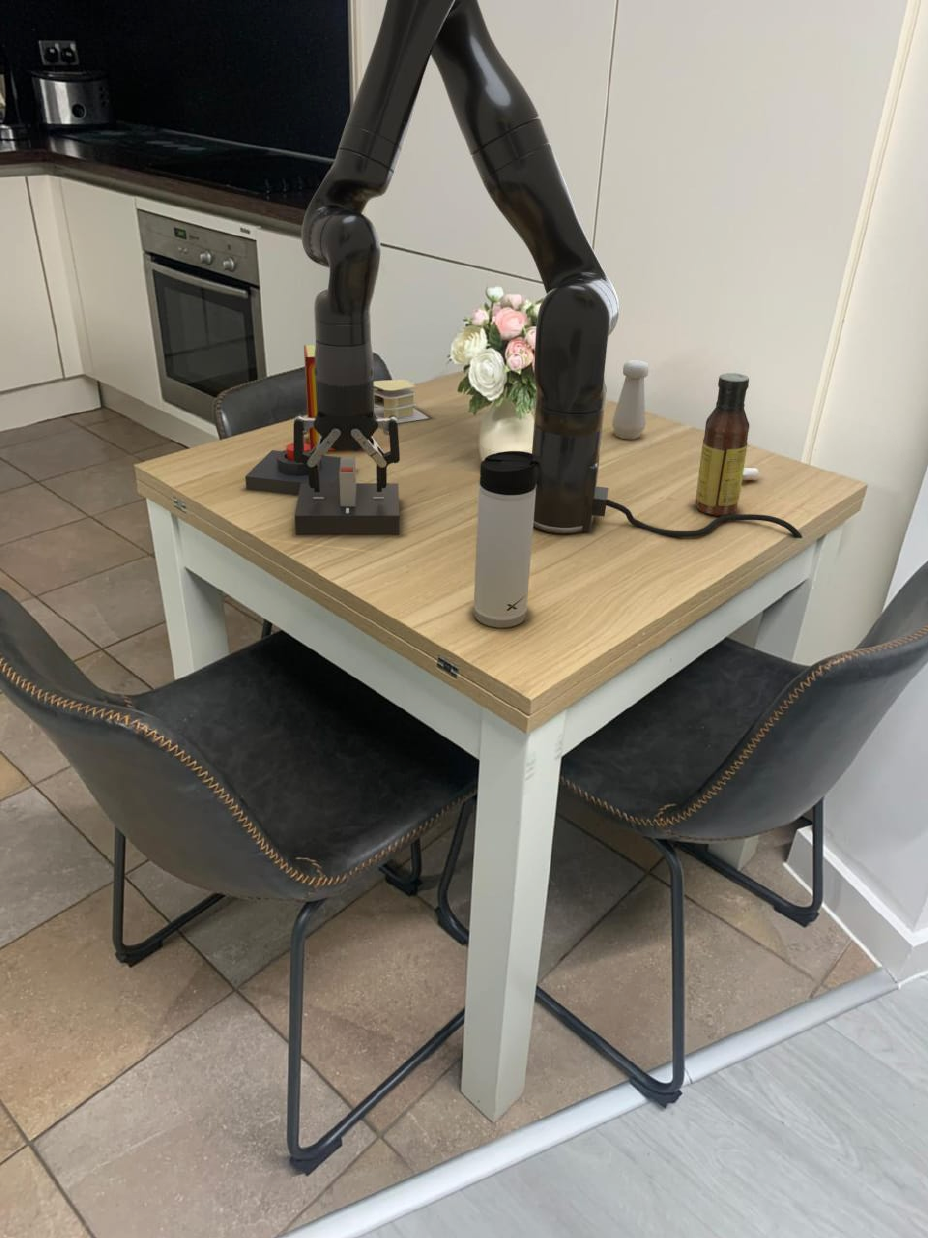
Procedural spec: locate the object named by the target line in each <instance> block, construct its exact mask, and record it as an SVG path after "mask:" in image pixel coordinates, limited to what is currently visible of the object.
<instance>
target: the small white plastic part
mask: <svg viewBox="0 0 928 1238" xmlns="http://www.w3.org/2000/svg"><path fill="white" fill-rule="evenodd" d="M759 477H760V472H759V470H758V469H757V468H754V467H745V466H744V471H743V477H742V481H743V480H744V481H756V480H757V479H759Z"/></svg>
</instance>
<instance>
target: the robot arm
mask: <svg viewBox="0 0 928 1238" xmlns="http://www.w3.org/2000/svg"><path fill="white" fill-rule="evenodd" d="M430 58H432V60H433V62H434V64H435V66H436V68H437V71H438V72H439V75H440V78H441V81H442V83H443V86H444V88H445V90H446V94H447V97H448V100H449V103H450V105H451V108H452V111H453V114H454V116H455V119H456V122H457V125H458V126H459V130H460V132H461V134H462V137H463V140H464V143H465V144H466V148H467V150H468V153H469V154H470V156H471V159H472V161H473V163H474V166H475V168H476V170H477V173H478V175H479V177H480V180H481V181H482V184H483V186H484V188H485V190H486V192H487V193H488V195H489V197H490V199H491V201H492V202H493V204H494V205H495V207H496V208H497V209H498V211H499V212H500V213H501V215H502V216H503V218H504V219H505V220H506V221H507V223H508V224H509V225H510V227H511V228H512V229H513V230H514V231H515V232H516V234H517V236H519V238H520V239H521V241H522V242H523V243H524V245H525V246H526V248H527V249H528V251H529V253H530V255H531V257H532V259H533V261H534V264H535V266H536V269H537V271H538V273H539V276H540V279H541V282H542V284H543V287H544V290H545V294H546V295H545V296H544V297H543V299H542V301H541V302H540V305H539V308H538V312H537V318H536V325H535V341H534V344H535V345H534V360H533V361H534V362H533V363H534V365H533V380H534V385H535V389H536V395H535V405H534V406H535V407H534V417H533V418H534V420H533V432H532V433H533V434H532V446H531V453H532V454H534V455H537V456H541V466H540V467H539V468H537V465H536V471H537V476H536V496H535V508H534V521H533V528H536V529H538V530H540V531H544V532H547V533H552V534H564V535H565V534H575V533H576V534H577V533H581V532H584V533H590V532H591V528H592V525H593V522H594V521H593V520H594V517H595V516H596V517H606V511H607V507H609V508H611V509H614V510H617V511H619V512H621V513H623V514H624V515H625V516H626V519H627V521H628V522H629V523H630V524H631V525H633V526H635V527H636V528H639V529H642V530H645V531H648V532H651V533H654V534H658V535H661V536H665V537H677V538H691V537H699V536H703V535H705V534H708V533H710V532H711V531H713V530H714V529H715V528H716V527H717V526H718V525H720V524H722V523H724V522H729V521H760V522H761V521H762V522H769V523H773V524H776V525H778V526H781V527H783V528H784V529H786V530H787V531H788V532H789V533H791V534H792V535H793V536H794V537H795V538H797V539H803V536H802V534H801V532H800V531H799V530H798V529H797V528H796V527H795V526H793V525H792V524H791V523H789V522H788V521H786V520H784V519H782V518H779V517H776V516H773V515H768V514H767V515H765V514H758V513H757V514H756V513H753V514H752V513H751V514H750V513H749V514H748V513H742V514H741V513H736V514H735V513H732V514H730V515H725V516H718V517H717V518H715V519H714V520H712V521H710V523H709V524H707V525H705V526H704V527H701V528H699V529H696V530H695V529H694V530H693V529H692V530H671V529H663V528H659V527H654V526H651V525H648V524H646V523H643V522H642V521H641V520H638V519H637V518H635V517H634V515H633V513H632V512H631V510H630V509H629V508H627V507H626V506H625V505H623V504H621V503H618V502H617V501H616V502H615V501H614V500H611V499H608V498H609V497H608V496H609V487H604V486H597V485H598V484H597V483H598V475H599V467H600V458H601V453H600V452H601V443H602V436H603V435H602V434H603V425H604V416H605V408H606V401H607V400H606V399H607V392H608V391H607V390H608V387H607V384H606V383H605V381H606V380H605V373H606V362H607V352H608V343H609V337H610V335H611V334H612V333H613V331H614V329H615V328H616V326H617V324H618V319H619V315H620V302H619V297H618V295H617V292H616V290H615V288H614V285H613V284H612V281H611V280H610V278H609V277H608V275H607V272H606V271H605V269H604V268H603V266H602V263H601V262H600V260H599V258H598V257H597V255H596V253H595V250H594V249H593V247H592V245H591V243H590V241H589V239H588V237H587V235H586V233H585V231H584V229H583V226H582V224H581V222H580V219H579V217H578V214H577V211H576V208H575V205H574V202H573V199H572V197H571V193H570V190H569V188H568V185H567V183H566V180H565V178H564V174H563V173H562V170H561V167H560V164H559V161H558V159H557V156H556V154H555V151H554V148H553V145H552V144H551V141H550V139H549V135H548V134H547V131H546V129H545V126H544V123H543V121H542V119H541V117H540V114H539V112H538V110H537V108H536V105H535V104H534V102H533V99H532V98H531V97H530V95H529V93H528V91H527V90H526V88H525V87H524V85H523V84H522V83H521V81H520V80H519V77H517V75H516V74H515V72H514V71H513V70H512V68H511V67H510V66H509V64H508V63H507V62H506V60H505V59H504V57H503V56H502V54H501V52H500V51H499V49H498V48H497V46H496V44H495V42H494V40H493V38H492V36H491V34H490V31H489V29H488V26H487V24H486V21H485V18H484V16H483V13H482V9H481V7H480V4H479V2H478V0H386V3H385V6H384V11H383V15H382V19H381V22H380V26H379V29H378V32H377V37H376V39H375V43H374V46H373V49H372V52H371V55H370V57H369V59H368V63H367V65H366V67H365V68H366V69H365V71H364V74H363V77H362V79H361V82H360V85H359V87H358V90H357V92H356V95H355V98H354V101H353V103H352V106H351V109H350V112H349V115H348V117H347V121H346V124H345V127H344V130H343V133H342V135H341V139H340V143H339V145H338V149H337V152H336V155H335V158H334V162H333V164H332V165H331V167H330V169H329V170H328V171H327V173H326V175H325V176H324V178H323V180H322V181H321V183H320V185H319V186H318V188H317V190H316V192H315V194H314V195H313V197H312V199H311V201H310V203H309V204H308V206H307V208H306V211H305V213H304V217H303V220H302V224H301V236H300V237H301V244H302V248H303V250H304V252H305V254H306V256H307V257H308V258H309V259H310V260H311V261H312V262H314V263H315V264H317V265H319V266H322V267H324V268H328V269H329V278H328V285H327V288H326V289H324V290H322V291H321V292H319V293H318V294H317V295H316V297H315V300H314V306H313V307H314V309H313V310H314V329H315V331H314V332H315V345H316V346H315V367H314V372H315V377H316V398H317V415H316V417H315V418H308V417H304V415H302V414H297V415H295V416H294V421H293V459H294V461H295V462H296V463H300V462H301V463H304V464H306V465H307V467H308V474H309V486H310V488H314V492H320V469H319V460H320V459H321V458H322V457H323V456H326V454H327V453H328V452H327V451H328V450H329V449H330V447H331V448H332V449H335V451H334V452H344V451H343V450H351V451H350V452H359V451H358V450H359V449H361V448H363V449H364V450H363V451H364V452H365V453H366V454H367V455H368V456H369V457H370V458H371V459H372V460H373V461H374V463H376V465H375V466H376V471H375V472H376V483H377V492H382V488H386V485H387V483H388V470H387V468H388V466H389V465H392V464H398V463H399V462H400V460H401V452H400V438H399V423H398V421H397V417H396V416H395V415H391V416H389V418H381V419H377V417H376V416H375V413H374V408H375V406H374V389H375V386H374V382H375V381H374V380H375V377H374V376H375V375H374V374H375V368H374V353H373V347H372V326H371V324H372V323H371V304H372V300H373V297H374V294H375V289H376V284H377V280H378V276H379V275H378V274H379V269H380V265H381V255H382V250H381V249H382V248H381V247H382V246H381V241H380V237H379V236H380V235H379V232H378V230H377V227H376V226H375V224H374V222H373V221H372V220H371V219H370V217H368V216H366V215H365V214H363V212H364V210H365V208H366V206H367V205H368V203H369V202H370V201H371V200H373V199H375V198H379V197H382V196H384V195H385V194H386V193H387V192H388V190H389V188H390V185H391V183H392V181H393V178H394V176H395V173H396V170H397V166H398V164H399V161H400V158H401V155H402V152H403V149H404V146H405V144H406V141H407V137H408V134H409V130H410V128H411V127H410V126H411V123H412V120H413V117H414V113H415V109H416V105H417V101H418V98H419V95H420V90H421V87H422V83H423V80H424V76H425V74H426V70H427V67H428V64H429V61H430ZM312 427H314V428H315V429H316V431H317V432H318V433H319V434H320V436H321V438H320V439H319V441H318V442H317V444H316V446H315V447H314V448H313V450H312V451H311V452H310V453H309V452H306V451H304V443H305V435H308V433H309V430H310V428H312ZM378 428H380V429H381V430H382V433H383V434H384V435H386V436H388V438H389V439H388V440H389V451H386V452H384V451H383V449H382V448H381V447H380V446H379V443H378V442H377V440H375V439H376V438H374V437H373V435H374V434H375V433H376V432H377V430H378Z"/></svg>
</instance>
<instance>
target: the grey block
mask: <svg viewBox="0 0 928 1238" xmlns="http://www.w3.org/2000/svg"><path fill="white" fill-rule="evenodd" d="M340 457H341V461H340V471H339V477H340V504H341V506H355V502H356V483H357V474H356V473H357V471H356V466H357V465H356V457H353V456H352V457H350V456H349V457H348V456H347V457H342V456H340Z"/></svg>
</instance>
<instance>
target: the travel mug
mask: <svg viewBox="0 0 928 1238" xmlns="http://www.w3.org/2000/svg"><path fill="white" fill-rule="evenodd" d="M536 465H537V468H539V467H540V466H541V456H537V455H534V454H532V452H528V451H522V450H506V451H500V452H495V453H492V454H491V453H490V454H489V455H487V456H485V458H484V459H483V460H482V461H481V463H480V465H479V466H480V467H479V468H480V469H479V482H478V501H477V520H476V521H477V523H476V546H475V565H474V566H475V567H474V590H473V616H474V617H475V619H476V620H477V622H480V623H481V624H484V625H485V626H488V627H492V628H499V629H501V628H502V629H503V628H511V627H515V626H517V625H520V624H521V623H523V622H524V621H525V619H526V618H527V609H528V597H529V585H530V584H529V583H530V571H531V557H532V544H533V535H534V534H533V532H534V526H533V521H534V508H535V496H536V476H537V471H536Z"/></svg>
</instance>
